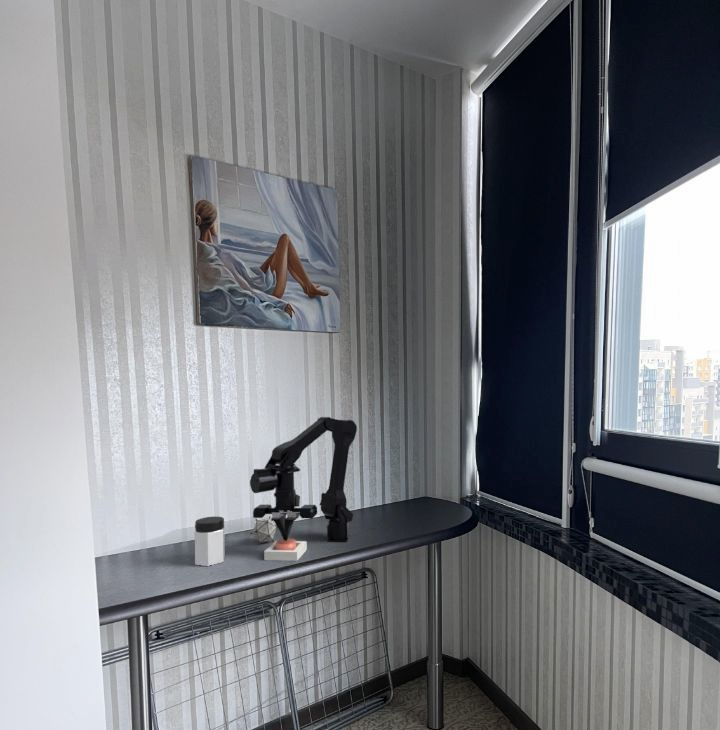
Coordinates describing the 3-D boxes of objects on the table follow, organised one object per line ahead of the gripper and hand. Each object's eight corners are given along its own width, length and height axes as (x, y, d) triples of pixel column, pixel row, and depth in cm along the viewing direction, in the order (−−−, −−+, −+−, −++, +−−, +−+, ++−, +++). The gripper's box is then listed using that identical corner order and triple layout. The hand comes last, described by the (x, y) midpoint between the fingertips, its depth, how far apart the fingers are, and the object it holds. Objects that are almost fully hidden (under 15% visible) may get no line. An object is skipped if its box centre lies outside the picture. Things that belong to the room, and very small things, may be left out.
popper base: (306, 549, 144) (306, 541, 144) (297, 560, 134) (297, 552, 134) (276, 548, 145) (275, 540, 146) (264, 560, 136) (264, 551, 136)
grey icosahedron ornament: (259, 555, 151) (239, 531, 151) (274, 538, 158) (256, 515, 159) (273, 546, 146) (254, 521, 147) (289, 529, 154) (270, 505, 154)
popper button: (298, 550, 142) (298, 537, 142) (292, 557, 136) (292, 544, 136) (280, 550, 143) (279, 537, 143) (273, 557, 137) (272, 543, 137)
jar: (198, 557, 140) (197, 517, 141) (225, 555, 141) (225, 515, 142) (193, 568, 131) (192, 525, 132) (222, 565, 132) (222, 522, 133)
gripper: (320, 482, 147) (322, 532, 146) (265, 483, 150) (266, 531, 149) (311, 489, 136) (313, 543, 135) (251, 490, 139) (252, 542, 138)
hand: (285, 540), depth 140 cm, fingers closed
